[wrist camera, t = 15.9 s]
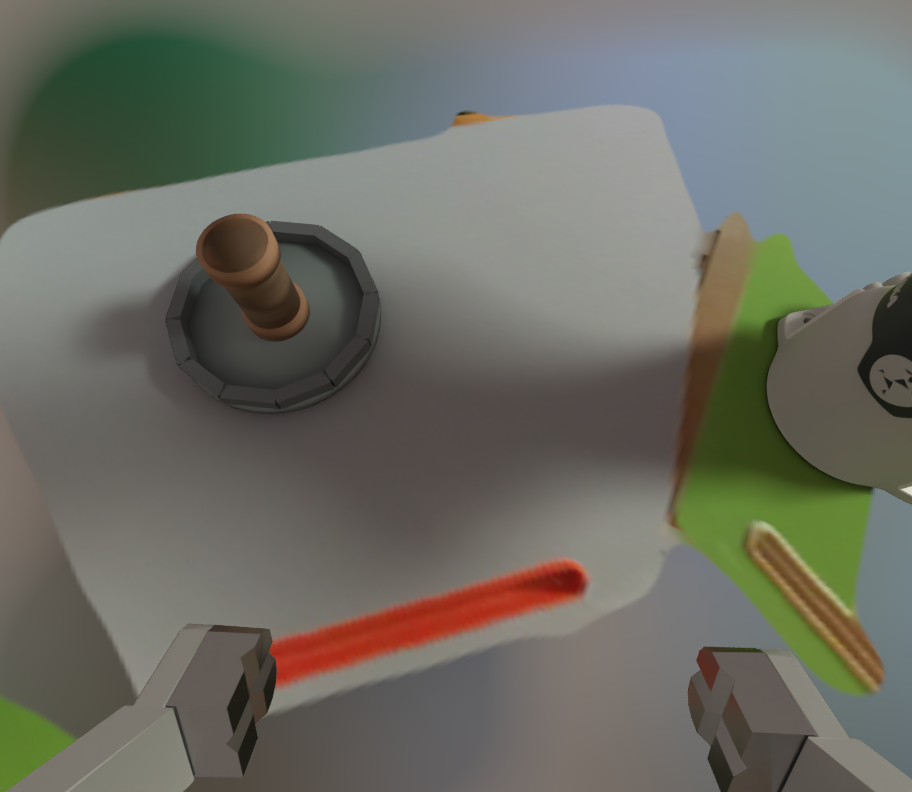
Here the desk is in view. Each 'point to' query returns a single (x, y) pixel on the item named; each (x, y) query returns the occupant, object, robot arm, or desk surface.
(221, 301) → the round dish
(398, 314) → the desk surface
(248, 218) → the brown flared cylinder
